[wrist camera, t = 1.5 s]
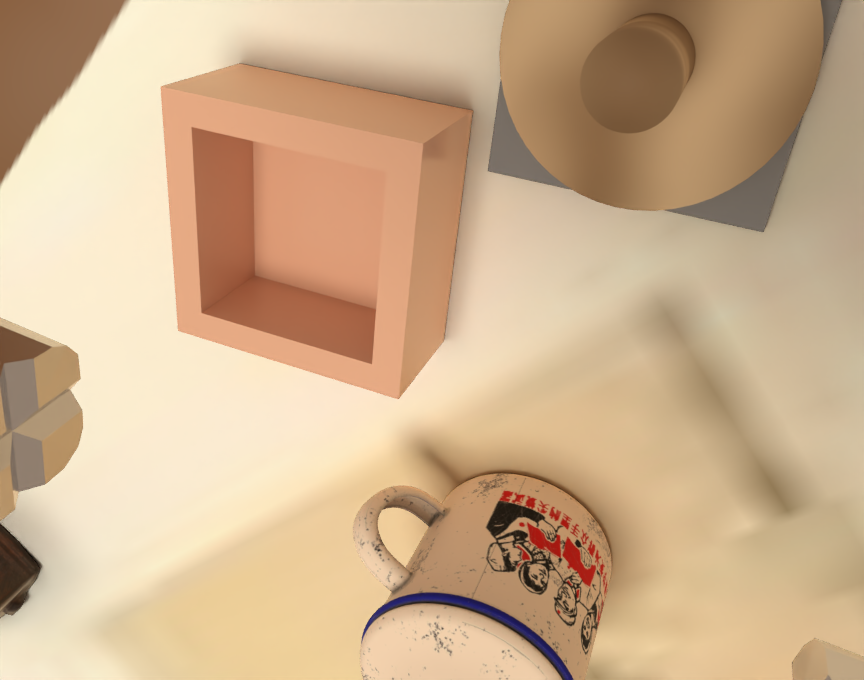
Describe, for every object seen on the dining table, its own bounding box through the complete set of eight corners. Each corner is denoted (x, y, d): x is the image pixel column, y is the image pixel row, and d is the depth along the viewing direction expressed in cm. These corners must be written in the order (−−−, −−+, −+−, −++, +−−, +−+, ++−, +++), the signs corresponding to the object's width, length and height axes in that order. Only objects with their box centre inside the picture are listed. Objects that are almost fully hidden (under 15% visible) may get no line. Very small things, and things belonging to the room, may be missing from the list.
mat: (873, -99, 23) (875, -99, 22) (763, 228, 28) (763, 232, 27) (534, -137, 25) (531, -138, 25) (490, 168, 30) (487, 170, 30)
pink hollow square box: (473, 110, 30) (423, 143, 25) (443, 340, 35) (398, 399, 31) (239, 63, 32) (160, 86, 28) (244, 283, 37) (178, 330, 33)
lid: (875, -98, 22) (895, -99, 18) (763, 232, 27) (760, 286, 23) (531, -138, 25) (484, -146, 21) (488, 170, 30) (443, 210, 26)
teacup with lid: (661, 568, 36) (617, 808, 26) (527, 639, 41) (451, 861, 32) (470, 386, 35) (355, 564, 26) (359, 482, 40) (228, 660, 31)
